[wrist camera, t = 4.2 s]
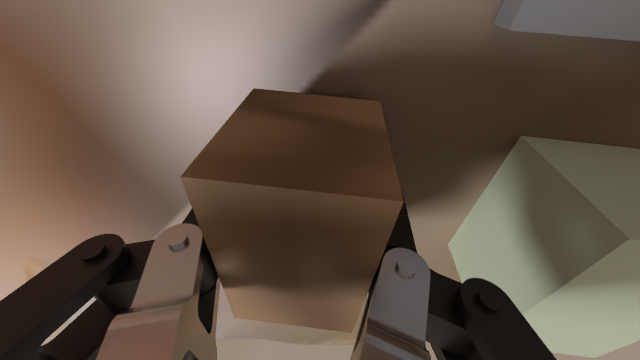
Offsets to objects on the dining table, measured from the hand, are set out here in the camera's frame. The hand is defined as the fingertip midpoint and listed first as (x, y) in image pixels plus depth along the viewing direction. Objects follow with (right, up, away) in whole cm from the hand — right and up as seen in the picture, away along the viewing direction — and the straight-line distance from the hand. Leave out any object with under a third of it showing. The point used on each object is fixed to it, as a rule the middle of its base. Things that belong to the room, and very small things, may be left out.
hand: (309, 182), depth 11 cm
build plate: (+13, +9, -8) cm, 18 cm away
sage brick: (+10, -1, +1) cm, 10 cm away
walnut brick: (0, 0, +1) cm, 1 cm away
